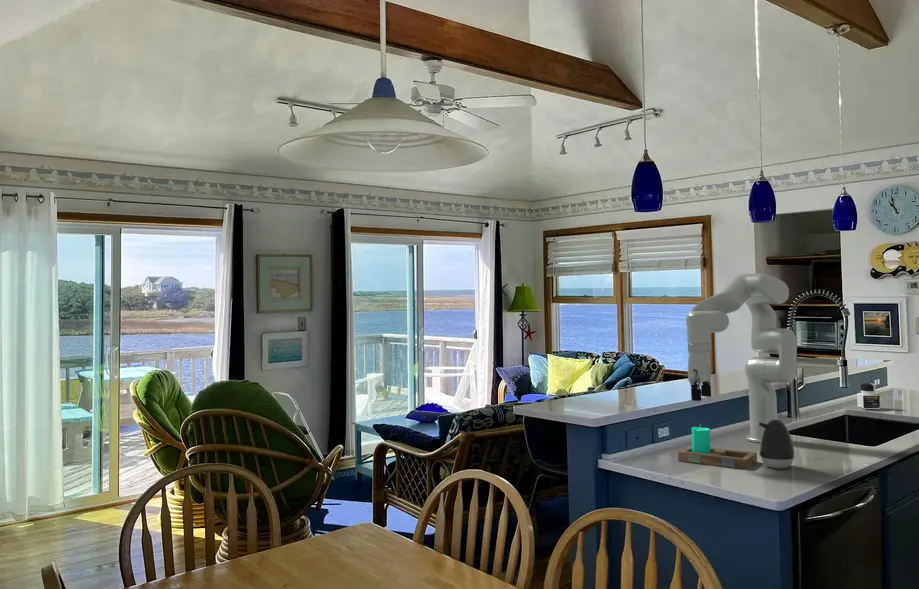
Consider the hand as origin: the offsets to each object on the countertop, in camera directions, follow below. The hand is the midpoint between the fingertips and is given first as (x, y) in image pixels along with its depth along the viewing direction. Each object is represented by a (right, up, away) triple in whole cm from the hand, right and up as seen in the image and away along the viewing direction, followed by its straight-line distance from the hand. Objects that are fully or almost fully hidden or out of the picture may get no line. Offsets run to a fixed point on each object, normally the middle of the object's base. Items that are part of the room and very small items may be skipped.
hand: (701, 398), depth 233 cm
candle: (0, -21, -1) cm, 21 cm away
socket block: (+4, -20, -4) cm, 21 cm away
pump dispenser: (+19, -20, -14) cm, 31 cm away
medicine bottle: (+109, -18, +86) cm, 140 cm away
